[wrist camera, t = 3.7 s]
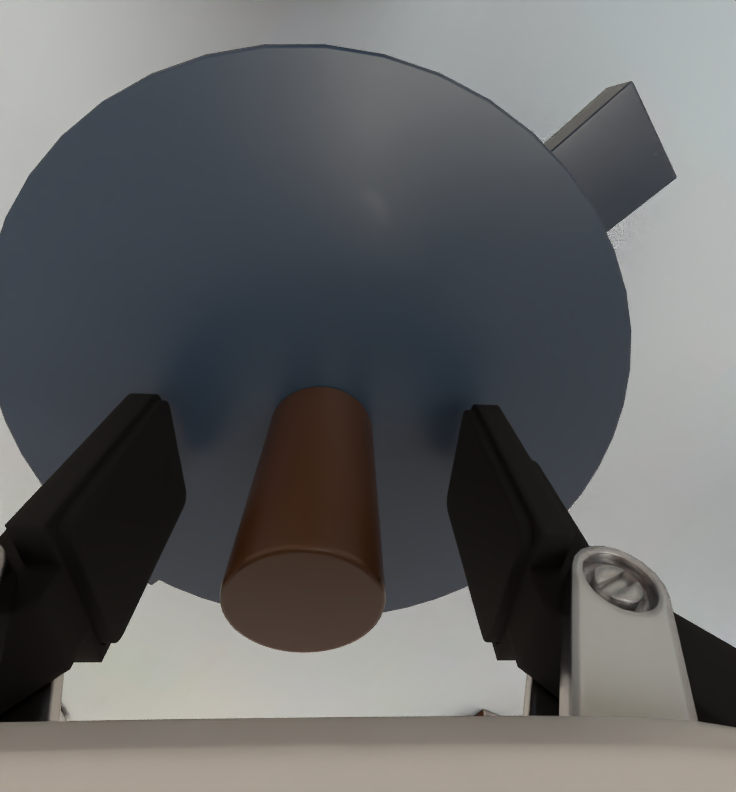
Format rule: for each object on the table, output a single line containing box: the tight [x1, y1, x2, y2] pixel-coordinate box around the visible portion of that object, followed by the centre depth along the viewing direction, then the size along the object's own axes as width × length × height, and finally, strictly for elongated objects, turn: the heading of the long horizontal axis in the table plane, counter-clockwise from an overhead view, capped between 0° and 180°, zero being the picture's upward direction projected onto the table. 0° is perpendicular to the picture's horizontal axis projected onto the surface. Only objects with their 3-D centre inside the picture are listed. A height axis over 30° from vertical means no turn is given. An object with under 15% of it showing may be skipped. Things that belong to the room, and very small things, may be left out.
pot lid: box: [0, 44, 631, 652], centre depth 9 cm, size 16×16×6 cm
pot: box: [148, 81, 676, 585], centre depth 15 cm, size 15×20×8 cm
